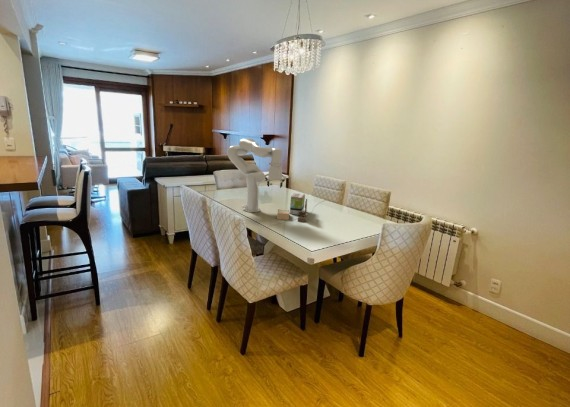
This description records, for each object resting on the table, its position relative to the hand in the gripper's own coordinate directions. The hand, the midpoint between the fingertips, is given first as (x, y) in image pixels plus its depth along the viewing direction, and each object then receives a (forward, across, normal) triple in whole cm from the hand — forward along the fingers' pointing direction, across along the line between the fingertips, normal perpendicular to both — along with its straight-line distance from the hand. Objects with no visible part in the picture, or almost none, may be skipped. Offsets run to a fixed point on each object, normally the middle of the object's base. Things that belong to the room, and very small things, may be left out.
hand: (274, 186), depth 238 cm
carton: (+24, +8, -1) cm, 25 cm away
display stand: (+23, +22, -1) cm, 32 cm away
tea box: (+24, +18, +16) cm, 34 cm away
